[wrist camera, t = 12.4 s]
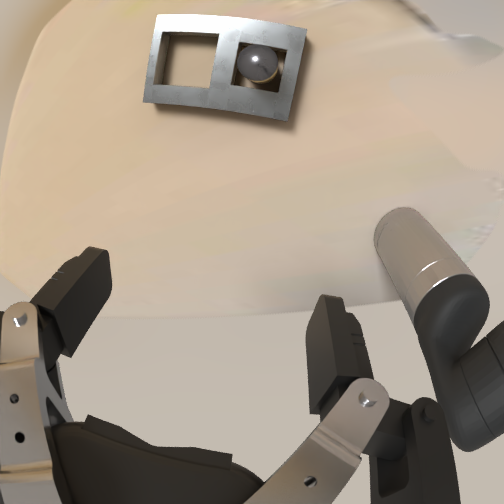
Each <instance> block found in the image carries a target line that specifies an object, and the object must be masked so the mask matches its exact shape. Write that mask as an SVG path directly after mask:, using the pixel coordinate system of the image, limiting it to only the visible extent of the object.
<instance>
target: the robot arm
mask: <svg viewBox="0 0 504 504" xmlns="http://www.w3.org/2000/svg"><path fill="white" fill-rule="evenodd" d="M374 244H375V247H376V250H377V252H378V254H379V256H380V257H381V259H382V261H383V263H384V265H385V267H386V269H387V271H388V273H389V275H390V277H391V279H392V281H393V283H394V285H395V287H396V289H397V291H398V293H399V295H400V297H401V300H402V302H403V304H404V306H405V308H406V310H407V312H408V314H409V317H410V319H411V321H412V323H413V325H414V328H415V330H416V333H417V335H418V340H419V343H420V347H421V349H422V352H423V354H424V357H425V360H426V363H427V366H428V369H429V372H430V376H431V380H432V383H433V387H434V391H435V394H436V398H437V402H438V403H437V402H436V401H434V400H433V399H431V398H427V397H422V398H419V399H417V400H416V401H415V402H414V403H413V404H412V405H410V404H406V403H403V402H400V401H397V400H394V399H391V398H389V395H388V392H387V391H386V389H385V388H384V387H383V386H382V385H381V384H380V383H379V382H377V381H375V380H374V377H373V372H372V368H371V364H370V360H369V356H368V352H367V348H366V346H365V340H364V337H363V333H362V329H361V325H360V323H359V322H358V320H357V319H356V317H355V316H354V315H353V314H352V313H347V312H346V311H345V306H344V302H343V299H342V298H341V297H335V296H329V295H323V294H322V295H321V296H320V297H319V300H318V302H317V304H316V307H315V309H314V312H313V314H312V316H311V319H310V321H309V324H308V326H307V331H306V354H307V369H308V385H309V406H310V407H309V408H310V414H319V415H320V423H319V425H318V426H317V427H316V428H315V429H314V430H313V432H312V433H311V434H310V435H309V436H308V437H307V439H306V440H305V441H304V442H303V443H302V444H301V445H300V446H299V447H298V449H297V450H296V451H295V452H294V453H293V454H292V455H291V456H290V457H289V458H288V459H287V460H286V462H284V464H283V465H281V467H279V469H278V470H276V471H275V472H274V473H273V474H272V475H271V476H270V477H269V478H268V479H267V480H266V481H265V482H263V481H262V480H261V479H260V478H259V477H257V476H256V475H255V474H254V473H253V472H251V471H249V470H248V469H246V468H244V467H242V466H240V465H238V464H236V463H233V462H232V454H229V453H223V452H217V451H211V450H206V449H201V448H196V447H157V446H152V445H150V444H148V443H147V442H145V441H143V440H141V439H140V438H138V437H136V436H135V435H133V434H131V433H130V432H128V431H126V430H125V429H123V428H122V427H120V426H117V425H114V424H112V423H109V422H106V421H103V420H101V419H98V418H95V417H93V416H91V415H88V416H87V418H86V420H85V422H74V421H73V418H72V416H71V413H70V411H69V409H68V406H67V402H66V398H65V393H64V389H63V384H62V379H61V373H60V367H59V362H58V360H57V359H58V357H59V356H60V354H63V355H65V356H67V357H70V358H71V357H72V356H73V354H74V352H75V351H76V349H77V347H78V346H79V344H80V342H81V340H82V339H83V337H84V336H85V334H86V332H87V331H88V329H89V328H90V326H91V324H92V323H93V321H94V320H95V318H96V317H97V315H98V314H99V312H100V310H101V309H102V307H103V306H104V304H105V303H106V301H107V300H108V298H109V296H110V294H111V290H112V277H111V269H110V259H109V253H108V251H107V250H104V249H99V248H95V247H91V246H90V247H88V248H86V249H85V250H84V251H83V253H82V254H81V255H80V256H79V257H77V256H76V257H74V258H72V259H70V260H68V261H67V262H65V263H64V264H63V265H62V266H61V267H60V268H59V269H58V272H56V273H55V274H54V275H53V276H52V278H51V279H49V280H48V281H47V282H46V284H45V285H44V286H43V287H42V288H41V289H40V290H39V292H38V293H37V294H36V295H35V296H34V297H33V298H32V300H31V301H30V302H18V303H15V304H13V305H11V306H10V307H9V308H8V309H7V310H6V311H5V312H3V311H0V504H332V502H333V501H334V500H335V498H336V497H337V496H338V495H339V493H340V492H341V490H342V489H343V488H344V486H345V485H346V484H347V482H348V481H349V480H350V478H351V477H352V475H353V474H354V472H355V471H356V469H357V468H358V466H359V464H360V462H361V460H362V458H361V457H360V454H361V453H363V454H367V455H369V464H370V490H371V504H461V502H460V493H459V486H458V480H457V472H456V466H455V461H454V455H453V450H452V446H451V440H452V441H453V443H454V444H455V445H456V446H457V447H458V448H459V449H461V450H462V451H465V452H471V451H474V450H476V449H479V448H480V447H482V446H484V445H486V444H487V443H489V442H491V441H492V440H494V439H495V438H497V437H498V436H500V435H501V434H503V433H504V321H503V322H501V323H500V324H499V325H498V326H496V327H495V328H494V329H493V330H492V331H491V332H489V333H488V334H487V335H486V337H484V338H483V339H481V340H480V341H479V342H478V343H477V344H475V345H474V346H473V347H472V348H471V346H472V344H473V342H474V341H475V339H476V337H477V336H478V334H479V332H480V330H481V329H482V327H483V326H484V324H485V321H486V319H487V317H488V313H489V308H490V301H489V297H488V294H487V292H486V290H485V289H484V287H483V286H482V285H481V283H480V282H479V281H478V279H477V278H476V277H475V275H474V274H473V273H472V272H471V270H470V269H469V268H468V267H467V265H466V264H465V263H464V262H463V261H462V260H461V258H460V257H459V256H458V255H457V254H456V252H455V251H454V250H453V249H452V248H451V247H450V246H449V244H448V243H447V242H446V241H445V240H444V239H443V238H442V237H441V235H440V234H439V233H438V232H437V231H436V230H435V229H434V228H433V227H432V225H431V224H430V223H429V222H428V221H427V220H426V219H425V218H424V217H423V216H422V215H421V214H420V213H419V212H417V211H416V210H414V209H411V208H398V209H395V210H393V211H391V212H389V213H388V214H386V215H385V216H384V217H383V218H382V219H381V221H380V222H379V224H378V226H377V228H376V230H375V234H374ZM470 348H471V349H470ZM450 438H451V440H450Z"/></svg>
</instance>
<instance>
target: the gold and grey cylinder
mask: <svg viewBox="0 0 504 504" xmlns="http://www.w3.org/2000/svg"><path fill="white" fill-rule="evenodd" d="M237 66H238V69H239V71H240V73H241V74H242V75H243V76H244V77H246V78H248V79H249V80H251V81H253V82H255V83H259V84H264V83H268V82H270V81H271V80H273V79H274V78H275V76H276V74H277V69H278V59H277V56H276V54H275V52H274V51H273V50H272V49H271V48H269V47H267V46H265V45H261V44H254V45H250V46H248V47H246V48H244V49H243V50H242V51H241V52H240V54H239V56H238V59H237Z"/></svg>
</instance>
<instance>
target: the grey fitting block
mask: <svg viewBox="0 0 504 504" xmlns="http://www.w3.org/2000/svg"><path fill="white" fill-rule="evenodd" d="M306 33H307V29H304V28H299V27H295V26H290V25H285V24H279V23H273V22H267V21H261V20H254V19H246V18H237V17H226V16H212V15H157V20H156V24H155V29H154V34H153V39H152V45H151V50H150V56H149V62H148V68H147V75H146V82H145V89H144V97H143V102H145V103H162V104H175V105H185V106H195V107H204V108H212V109H219V110H226V111H233V112H239V113H245V114H251V115H257V116H262V117H267V118H272V119H277V120H282V121H287V122H288V117H289V112H290V108H291V103H292V98H293V94H294V89H295V84H296V80H297V75H298V70H299V66H300V61H301V56H302V52H303V47H304V42H305V37H306ZM170 35H186V36H206V37H219V40H218V44H217V49H216V55H215V60H214V65H213V71H212V76H211V82H210V87H209V88H200V87H189V86H176V85H162V80H163V73H164V67H165V61H166V55H167V50H168V44H169V39H170ZM254 44H261V45H265V46H267V47H269V48H271V49H272V50H274V51H279V52H284V53H287V54H286V58H285V63H284V68H283V73H282V77H281V82H280V87H279V92H278V93H275V92H270V91H265V90H259V89H254V88H248V87H241V86H234V83H235V78H236V72H237V67H238V66H237V59H238V56H239V54H240V52H241V47H242V46H250V45H254Z"/></svg>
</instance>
